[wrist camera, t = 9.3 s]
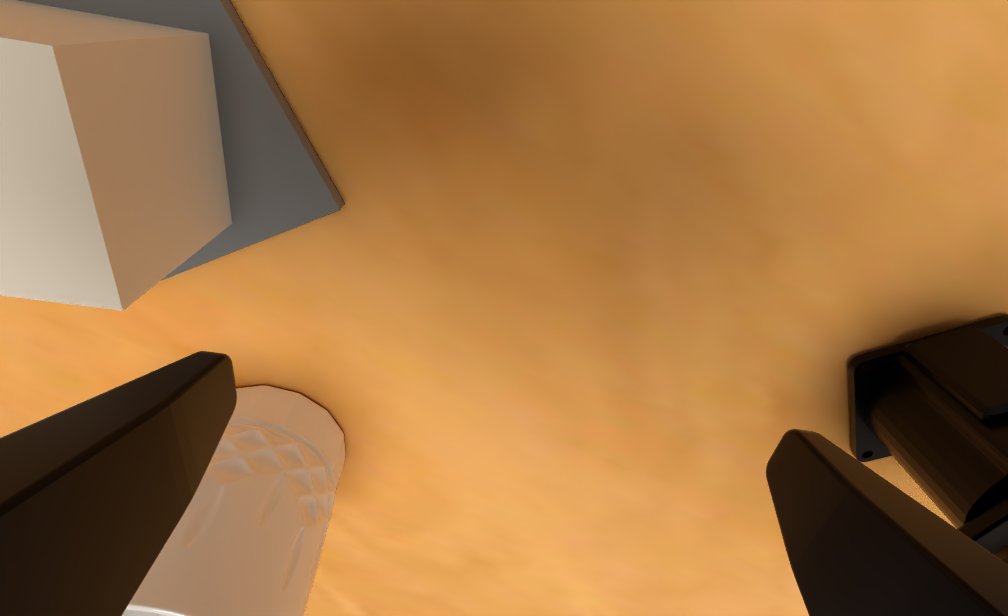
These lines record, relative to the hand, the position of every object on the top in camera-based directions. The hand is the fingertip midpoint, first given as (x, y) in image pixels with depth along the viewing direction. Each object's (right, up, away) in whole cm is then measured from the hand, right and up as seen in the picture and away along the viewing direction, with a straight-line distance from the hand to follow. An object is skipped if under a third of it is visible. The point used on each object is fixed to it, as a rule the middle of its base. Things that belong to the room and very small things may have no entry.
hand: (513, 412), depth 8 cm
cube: (-12, +8, +8) cm, 17 cm away
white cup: (-11, -4, +16) cm, 20 cm away
